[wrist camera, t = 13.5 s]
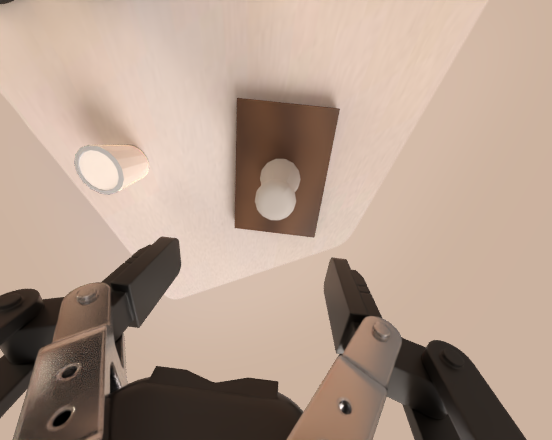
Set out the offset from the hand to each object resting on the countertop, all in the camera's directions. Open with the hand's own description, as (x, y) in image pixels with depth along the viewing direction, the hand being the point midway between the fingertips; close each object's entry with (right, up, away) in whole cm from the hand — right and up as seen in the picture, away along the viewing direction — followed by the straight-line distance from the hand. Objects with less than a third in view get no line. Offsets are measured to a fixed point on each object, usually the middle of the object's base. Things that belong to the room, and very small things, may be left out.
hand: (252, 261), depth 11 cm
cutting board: (+2, +10, +24) cm, 26 cm away
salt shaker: (+2, +9, +22) cm, 24 cm away
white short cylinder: (-23, +12, +25) cm, 36 cm away
